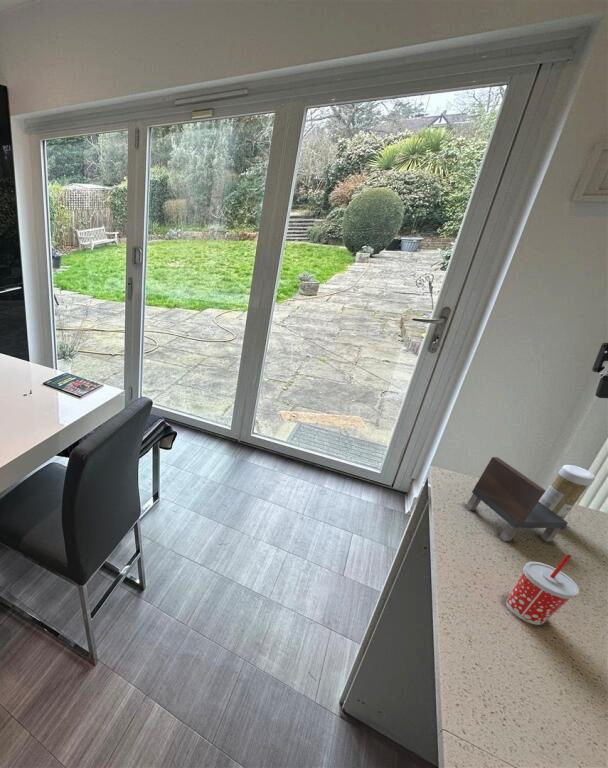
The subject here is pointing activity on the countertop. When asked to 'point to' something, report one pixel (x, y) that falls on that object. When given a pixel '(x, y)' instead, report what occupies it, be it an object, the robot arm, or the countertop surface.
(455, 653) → the countertop surface
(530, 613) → the beverage cup
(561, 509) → the sprinkles bottle
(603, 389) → the robot arm
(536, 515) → the chair
